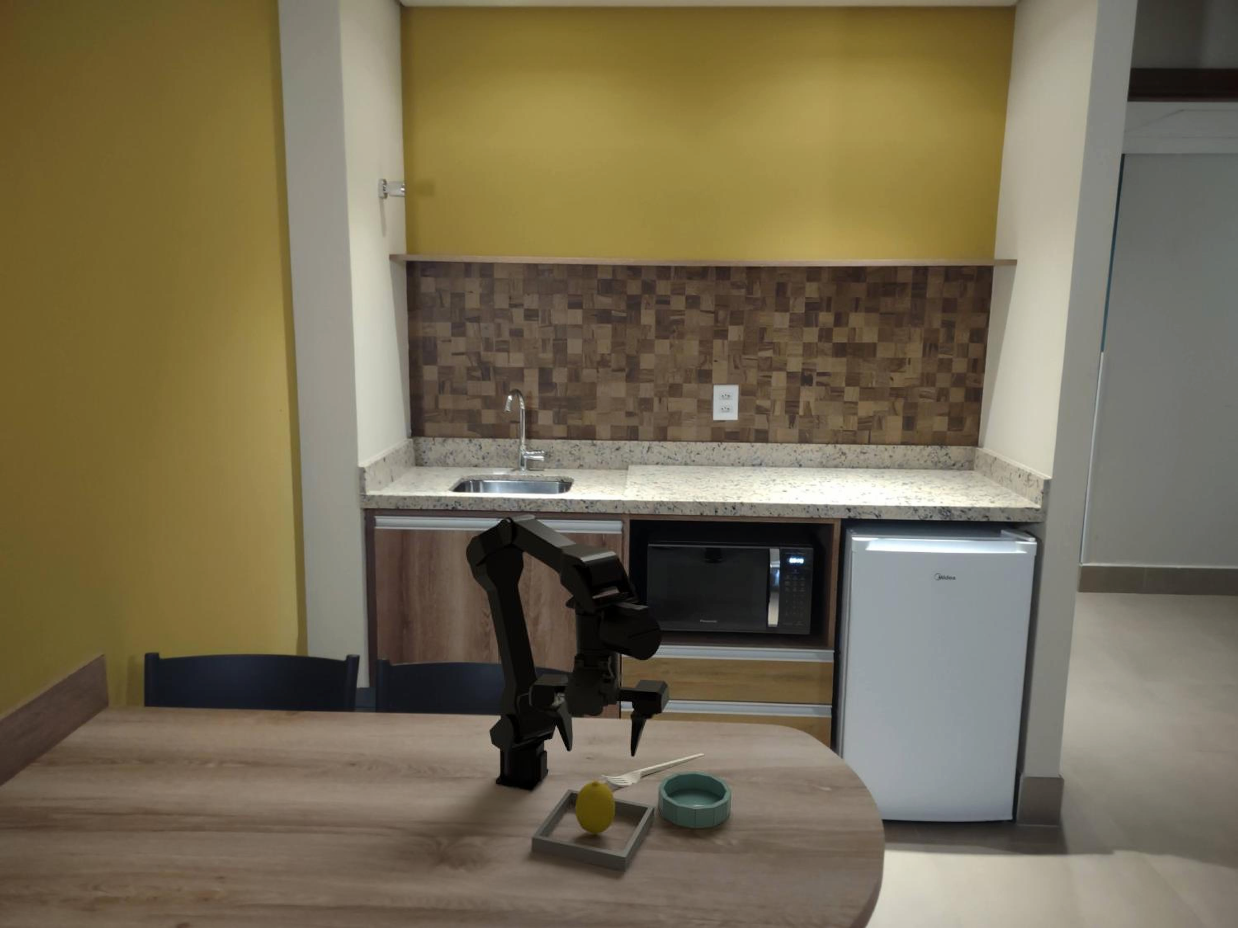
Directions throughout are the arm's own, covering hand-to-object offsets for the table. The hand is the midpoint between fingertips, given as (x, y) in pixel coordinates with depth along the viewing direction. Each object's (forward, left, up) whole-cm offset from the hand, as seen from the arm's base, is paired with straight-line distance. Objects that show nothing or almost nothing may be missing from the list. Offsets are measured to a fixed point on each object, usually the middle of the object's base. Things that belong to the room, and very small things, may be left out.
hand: (601, 752), depth 128 cm
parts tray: (-1, 0, -12) cm, 12 cm away
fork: (+2, +20, -13) cm, 24 cm away
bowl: (+11, +11, -12) cm, 20 cm away
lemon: (-1, 0, -13) cm, 12 cm away
